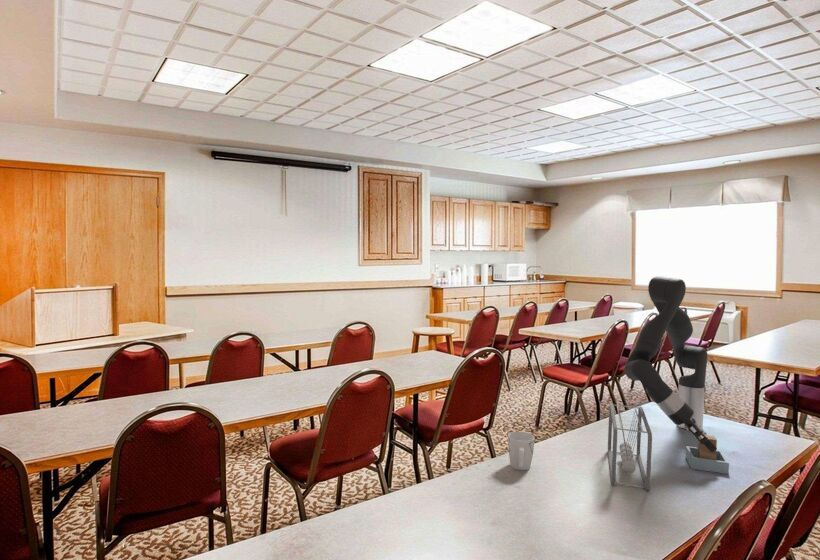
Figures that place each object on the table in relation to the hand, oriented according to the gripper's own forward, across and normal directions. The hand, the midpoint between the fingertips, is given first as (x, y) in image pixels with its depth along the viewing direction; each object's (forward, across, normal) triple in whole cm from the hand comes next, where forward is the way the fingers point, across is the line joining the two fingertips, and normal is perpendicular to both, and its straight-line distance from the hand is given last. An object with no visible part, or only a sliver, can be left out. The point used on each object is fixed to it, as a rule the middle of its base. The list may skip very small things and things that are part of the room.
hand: (711, 445), depth 163 cm
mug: (-36, -28, +46) cm, 65 cm away
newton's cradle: (-14, -15, +24) cm, 31 cm away
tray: (+4, 0, +6) cm, 7 cm away
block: (+3, 0, +5) cm, 6 cm away
